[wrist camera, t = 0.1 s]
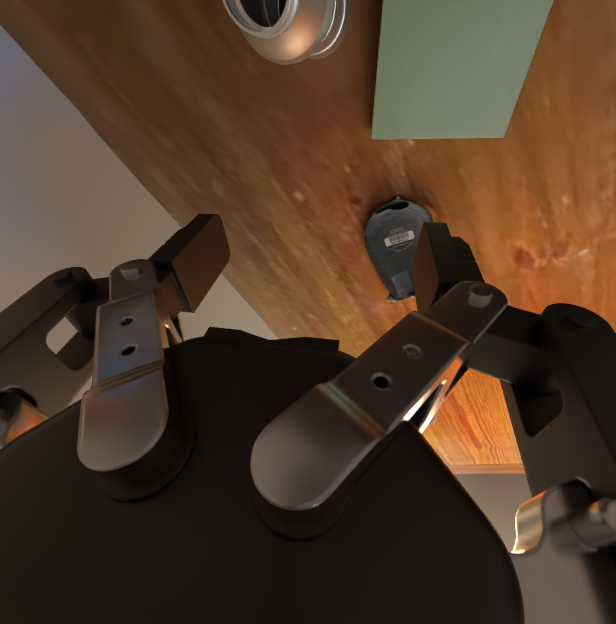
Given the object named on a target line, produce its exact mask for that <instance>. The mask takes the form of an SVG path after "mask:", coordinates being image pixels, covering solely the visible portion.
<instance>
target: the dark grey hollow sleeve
mask: <svg viewBox="0 0 616 624" xmlns="http://www.w3.org/2000/svg"><path fill="white" fill-rule="evenodd" d="M424 222H433V220H432V217H431V215H430V214H429V212H428V211H427V210H426V209H425V208H424V207H422V206H421V205H419V204H417V203H415V202H411V201H406V200H401V199H400V198H399V196H398V197H397V198H396V199H395V200H393V201H391V202H388V203H386V204H385V205H383V206H381V207H380V208H378V209H377V210H376V211H375V212H374V213H373V215H372V216H371V217H370V219H369V220H368V222H367V224H366V227H365V230H364V233H365V241H366V248H367V251H368V254H369V256H370V259H371V261H372V263H373V265H374V267H375V269H376V271H377V273H378V275H379V276H380V278H381V280H382V282H383V284H384V285H385V286H386V288H387V290H388V291H389V292H390V293H389V295H388V297H387V299H386V300H388V302H393V301H398V300H402V299H405V298H413V297H416V295H415V288H414V281H413V262H414V257H415V253H416V249H417V245H418V241H419V236H420V232H421V228H422V225H423V223H424Z"/></svg>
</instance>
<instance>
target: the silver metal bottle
mask: <svg viewBox="0 0 616 624" xmlns="http://www.w3.org/2000/svg"><path fill="white" fill-rule="evenodd" d="M223 3H224V6H225V8H226V9H227V11H228V13H229V15H230V16H231V18H232V19H233V20H234V22H235V23H236V24H237V25H238V26H239V28H240V30H241V31H242V33H243V35H244V37H245V38H246V39H247V41H248V42H249V43H250V45H251V46H252V47H253V48H254V49H255V50H256V51H257V52H258V53H259V54H260V55H261V56H263V57H264V58H266V59H267V60H269V61H271V62H274V63H277V64H284V65H289V64H295V63H298V62H300V61H302V60H304V59H306V58H310V59H320V58H324V57H326V56H328V55H330V54H331V53H332V52H334V51H335V50H336V49H337V48H338V46H339V45H340V44H341V42H342V40H343V39H344V37H345V34H346V32H347V29H348V25H349V21H350V14H351V0H223Z"/></svg>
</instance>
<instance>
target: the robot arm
mask: <svg viewBox="0 0 616 624" xmlns="http://www.w3.org/2000/svg"><path fill="white" fill-rule="evenodd" d="M229 257H230V250H229V246H228V242H227V238H226V234H225V231H224V227H223V223H222V220H221V218H220V216H219V215H217V214H198V215H197V216H196V217H195V218H194V219H193V220H192V221H191V222H190V223H189V224H188V225H187V226H186V227H184V228H182V229H180V230H178V231H177V232H176V233H175V234H174V235H173V236H172V237H171V239H169V240H168V241H166V243H165V245H162V246H161V247H160V248H159V249H158V250H157V251H156V252H155V253H154V254H153V255H152V256H151V257H150V258H149V259H148V260H145V259H138V260H132V261H128V262H125V263H123V264H121V265H119V266H117V267H116V268H114V269H113V270H112V271H111V273H110V275H109V277H107V278H99V279H92V277H91V276H90V275H89V273H88V272H87V270H86V269H85V268H82V267H71V268H66V269H63V270H60V271H57V272H55V273H53V274H51V275H49V276H48V277H46V278H45V279H43V280H42V281H41V282H40V283H38V284H37V285H36V286H34V287H33V288H32V289H31V290H29V291H28V292H27V293H25V294H24V295H23V296H21V297H20V298H19V299H18V300H16V301H15V302H14V303H12V304H11V305H10V306H8V307H7V308H6V309H5V310H3V311H2V312H1V313H0V624H616V333H615V332H614V330H613V329H612V328H611V326H610V325H609V324H608V322H606V321H605V320H604V319H603V318H602V317H600V316H599V315H597V314H596V313H594V312H592V311H590V310H588V309H585V308H583V307H580V306H576V305H572V304H565V303H556V304H552V305H549V306H547V307H546V308H545V309H544V311H543V312H542V314H541V315H539V314H536V313H532V312H528V311H525V310H521V309H517V308H514V307H511V306H509V305H507V303H508V302H507V298H506V296H505V295H504V294H503V293H502V292H501V291H500V290H499V289H497V288H496V287H494V286H492V285H490V284H487V283H485V282H484V279H483V277H482V275H481V272H480V270H479V268H478V265H477V263H476V262H475V258H474V256H473V255H472V251H471V249H470V247H469V245H468V244H467V243H466V242H465V241H463V240H462V239H461V238H460V237H451V235H450V232H449V229H448V227H447V224H446V223H436V222H424V223H423V225H422V228H421V232H420V236H419V241H418V245H417V249H416V253H415V257H414V262H413V281H414V288H415V295H416V303H417V310H418V312H417V311H412V312H410V313H409V314H408V315H407V316H405V317H404V318H403V319H402V320H401V321H400V322H398V323H397V324H396V325H395V326H394V327H393V328H391V329H390V330H389V331H388V332H387V333H386V334H384V335H383V336H382V337H381V338H380V339H379V340H377V341H376V342H375V343H374V344H373V345H372V346H370V347H369V348H368V349H367V350H366V351H365V352H363V353H362V354H361V355H360V356H359V357H358V358H354V357H353V356H351V355H348V354H346V353H344V352H341V351H339V340H331V339H321V338H312V337H299V338H288V339H278V340H268V339H264V338H261V337H258V336H255V335H252V334H250V333H247V332H244V331H241V330H234V329H225V328H215V327H209V328H208V330H207V332H206V333H205V335H204V337H197V338H193V339H189V340H186V338H185V334H184V330H183V327H182V323H181V320H180V318H179V316H178V314H179V313H180V311H182V312H192V313H194V312H195V310H196V309H197V308H198V306H199V305H200V303H201V302H202V300H203V299H204V297H205V296H206V294H207V293H208V291H209V289H210V288H211V287H212V285H213V284H214V282H215V281H216V279H217V278H218V276H219V275H220V274H221V272H222V271H223V269H224V268H225V266H226V265H227V263H228V261H229ZM64 317H66V318H67V319H68V320H69V321H70V323H71V324H72V325H73V326H74V327H75V328H76V330H77V331H78V332H77V333H76V334H75V335H74V336H73V337H72V338H71V339H70V340H69V341H68V342H67V343H66V345H65V346H64V347H63V348H62V349H61V350H60V351H59V352H58V353H57V354H55V353H54V352H52V351H51V350H50V349H49V347H48V346H47V344H46V337H47V334H48V333H49V332H50V331H51V330H52V328H54V327H55V326H56V325H57V324H58V323H59V322H60V321H61V320H62V319H63V318H64ZM470 369H472V370H475V371H478V372H480V373H483V374H486V375H489V376H491V377H494V378H497V379H500V382H501V386H502V390H503V393H504V397H505V401H506V404H507V408H508V412H509V415H510V419H511V423H512V426H513V430H514V434H515V437H516V441H517V445H518V448H519V452H520V455H521V459H522V463H523V466H524V470H525V474H526V477H527V481H528V484H529V488H530V492H531V496H532V498H531V499H530V500H528V501H526V502H525V503H523V504H522V505H521V506H520V507H519V509H518V510H517V514H516V519H515V523H516V543H515V546H514V549H513V550H512V552H511V553H509V552H508V550H507V548H506V546H505V545H504V542H503V541H502V539H501V537H500V535H499V534H498V532H497V530H496V529H495V527H494V526H493V525H492V523H491V522H490V520H489V519H488V518H487V516H486V515H485V514H484V513H483V511H482V510H481V509H480V508H479V506H478V505H477V504H476V503H475V501H474V500H473V499H472V497H471V496H470V495H469V494H468V492H467V491H466V490H465V488H464V487H463V486H462V485H461V483H460V482H459V481H458V480H457V478H456V477H455V476H454V474H453V473H452V472H451V471H450V469H449V468H448V467H447V466H446V464H445V463H444V462H443V460H442V459H441V458H440V457H439V455H438V454H437V453H436V452H435V450H434V449H433V448H432V446H431V445H430V444H429V443H428V441H427V440H426V439H425V438H424V436H423V435H422V434H421V433H422V432H423V430H424V429H425V428H426V426H427V425H428V424H429V422H430V421H431V419H432V418H433V417H434V415H435V413H436V412H437V410H438V409H439V408H440V406H441V405H442V404H443V402H444V401H445V400H446V399H447V397H448V396H449V395H450V394H451V392H452V391H453V390H454V389H455V388H456V386H457V385H458V384H459V383H460V381H461V380H462V379H463V378H464V376H465V375H466V374H467V373H468V372H469V370H470ZM91 376H92V386H91V388H90V390H88V391H86V392H85V393H84V395H83V397H82V399H81V400H79V401H77V402H76V403H74V404H72V405H70V406H69V404H70V403H71V402H72V401H73V399H74V398H75V397H76V395H77V394H78V393H79V392H80V390H81V389H82V388H83V386H84V385H85V384H86V383H87V381H88V380H89V379H90V378H91ZM68 406H69V407H68Z"/></svg>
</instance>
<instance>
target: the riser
mask: <svg viewBox="0 0 616 624" xmlns="http://www.w3.org/2000/svg"><path fill="white" fill-rule="evenodd" d="M552 3H553V0H383V6H382V17H381V29H380V40H379V52H378V63H377V75H376V86H375V98H374V109H373V121H372V132H371V139H436V138H504V136H505V133H506V130H507V127H508V125H509V122H510V119H511V116H512V113H513V111H514V108H515V105H516V102H517V100H518V97H519V94H520V91H521V89H522V86H523V83H524V80H525V78H526V75H527V72H528V69H529V67H530V64H531V61H532V58H533V56H534V53H535V50H536V47H537V45H538V42H539V39H540V36H541V34H542V31H543V28H544V25H545V23H546V20H547V17H548V14H549V11H550V9H551V6H552Z"/></svg>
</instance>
